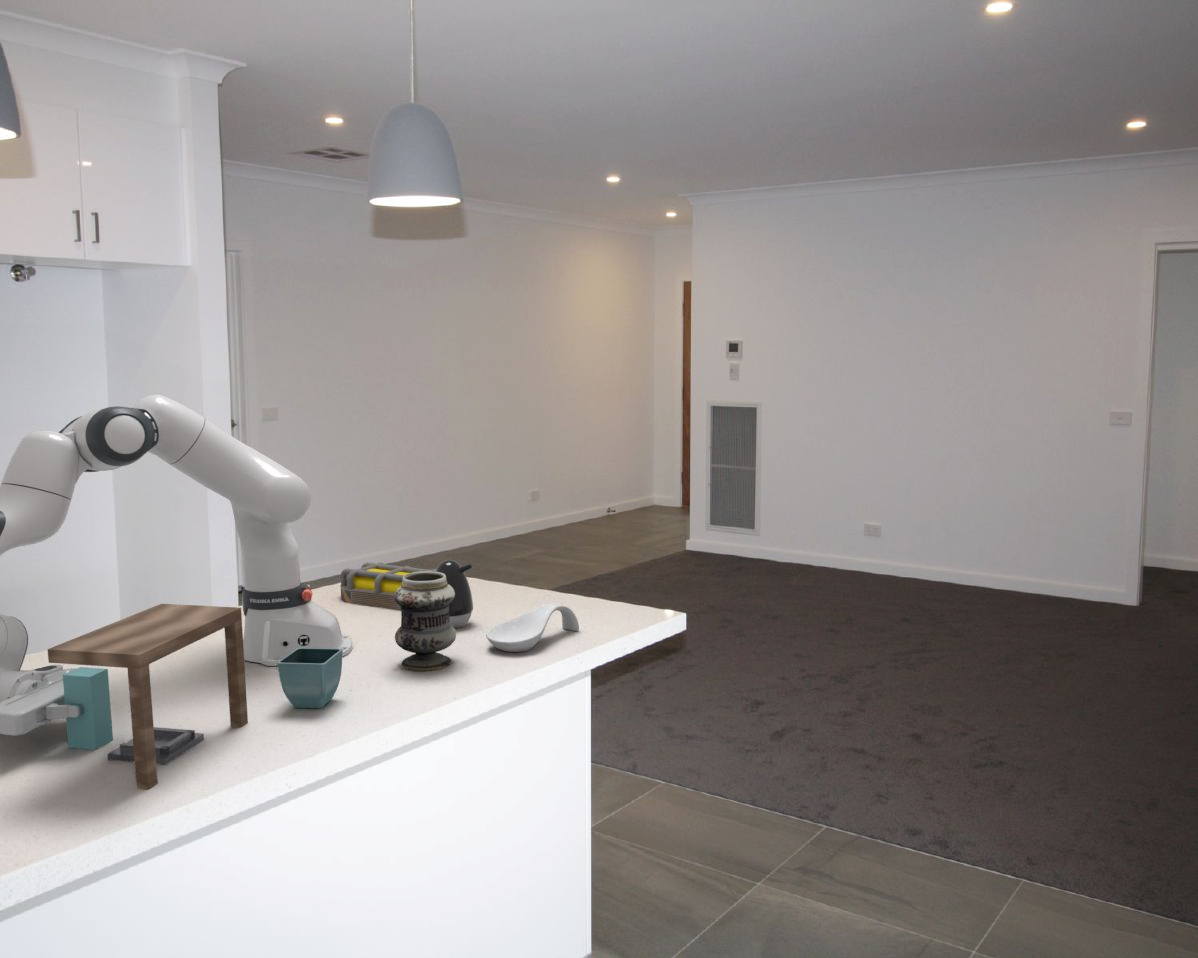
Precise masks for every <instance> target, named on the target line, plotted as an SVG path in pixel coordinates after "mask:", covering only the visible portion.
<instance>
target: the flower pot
mask: <svg viewBox="0 0 1198 958" xmlns="http://www.w3.org/2000/svg"><path fill="white" fill-rule="evenodd" d="M342 653H343V649H335V648H334V649H333V648H297V649H295V650H294V651H292V652H291V653H290V654H288V655H287V656H286V657H284V658H283V659H281V660H280V661H278V662H277V665H276V666H277V670H278V675H279V680H280V681H279V682H280V685H281V689H282V691H283V693H284V695H285V698H286V699H287V700H288V701H289V703H290V704H291V705H292V706H293V707H294V708H297V709H299V708H300V709H322V708H323V707H324V706H326V705H327V704H328V703H329V702H330V701H331V700H332V699H333V698H334V696H335V693H336V692H337V689H338V687H339V684H340V681H341V677H342V667H343V656H342Z"/></svg>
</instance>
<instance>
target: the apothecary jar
mask: <svg viewBox="0 0 1198 958" xmlns="http://www.w3.org/2000/svg"><path fill="white" fill-rule="evenodd" d="M454 597H455V592H454V589H453V588H452V587H451V586H450V585H449V584H447V581H446V575H445V574H444V573H441V572H434V571H419V572H413V573H409V574H406V575H404V576H403V581H402V585H401V586H400V587H399V588H398V589H397V590H396V592H395V595H394V598H395V601H396V603H397V604H398V605H400V606H401V612H400V613H401V614H400V617H401V618H400V619H401V620H400V626H399V627H398V628H397V630H396V632H395V635H394V641H395V643H396V645H397V646H398V647H399V648H401V649H402V650H404V651H406V652H408V653H413V654H411V655H409V656H407V657H405V658H404V659H403V660H402V661H401V663H400V664H401V666H402V667H403V669H407V670H409V671H414V672H415V671H416V672H417V671H419V672H427V671H428V672H429V671H437V670H441V669H443V668H444V667H446V666H450V665H451V663H452V659H451V658H450V657H449V656H448V655H444V654H442V653H439V652H440V651H443V650H446V649H448V648H449V647H451V646H452V645H453V644H454V642H455V641H456V638H457V631H456V628H453V627H452V626H451V625H450V621H449V604H450V603H451V602H452V601H453V599H454Z"/></svg>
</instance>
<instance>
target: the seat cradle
mask: <svg viewBox="0 0 1198 958" xmlns="http://www.w3.org/2000/svg"><path fill="white" fill-rule="evenodd" d="M204 734H205V733H203V732H202V733H199V732H196V730H194V729H184V728H183V729H182V728H170V727H169V728H168V727H157V726H154V740H155V754H156V765H164V766H166V765H168V763H171V762H172V761H173V760H175V759H177V758H178V757H179V756H181V755H182V754H184V753H186V752H187V751H189V750H190V749H192V748H194V747H195V746H196V745H198V744H199V743H201V742H203V741H204V740H205V735H204ZM107 760H108V761H116V762H117V761H118V762H119V761H120V762H129V763H135V760H134V747H133V738H132V739H130V740H129V741H127V742H126V741H125V742H124V741H123V742H122V743H120V744H119V746H118V747H117V748H114V749H113V750H111V751H109V752H108V753H107Z"/></svg>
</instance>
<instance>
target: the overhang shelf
mask: <svg viewBox="0 0 1198 958" xmlns="http://www.w3.org/2000/svg"><path fill="white" fill-rule="evenodd" d="M242 618H243V617H242V607H237V606H236V607H234V606H216V605H215V606H214V605H212V606H211V605H198V604H197V605H193V604H178V603H177V604H175V603H174V604H173V603H159V604H156V605H154V606H153V607H149V608H147V609H145V610H142V611H140V612H137V613H135V614H132V615H130V616H127V617H124V618H122V619H120V620H117V621H115V622H112V623H109V624H107V625H105V626H103V627H100V628H98V629H94V630H91V631H90V632H87V633H85V634H82V635H80V636H77V637H74V638H73V639H70V640H67V641H65V642H62V643H59V644H57V645H55V646H53V647H49V648H47V659H48V663H49V664H60V665H61V664H62V665H81V666H94V667H106V668H108V667H109V668H123V669H124V668H125V669H127V679H128V690H129V694H128V695H129V703H130V706H129V707H130V716H131V717H130V718H131V719H130V720H131V730H132V731H131V732H132V733H131V734H132V739H133V747H134V760H135V762H134V771H135V783H136V784H135V785H136V789H142V790H150V789H152V788H153V787H154V786H156V785H158V770H157V769H158V768H157V767H158V766H157V764H156V754H155V740H154V727H155V726H154V716H153V715H154V714H153V713H154V712H153V702H152V700H153V699H152V690H151V688H152V687H151V674H150V665H151V664H152V663H154V662H156V661H159V660H161V659H163V658H165V657H167V656H169V655H171V654H173V653H176V652H177V651H179V650H181V649H183V648H186V647H188V646H189V645H191V644H194V643H195V642H196V643H197V642H198V641H200V640H202V639H204V638H207V637H208V636H210V635H212V634H214V633H216V632H219V631H221V630H223V629H224V638H225V639H224V642H225V655H226V657H225V658H226V659H225V660H226V673H227V689H228V690H227V691H228V706H229V707H228V708H229V721H230V727H234V728H235V727H237V728H242V727H244V726H245V725H247V724H249V720H248V719H249V717H248V703H247V688H246V687H247V684H246V682H247V681H246V668H245V667H246V665H245V660H244V648H243V637H244V631H243V619H242Z"/></svg>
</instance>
